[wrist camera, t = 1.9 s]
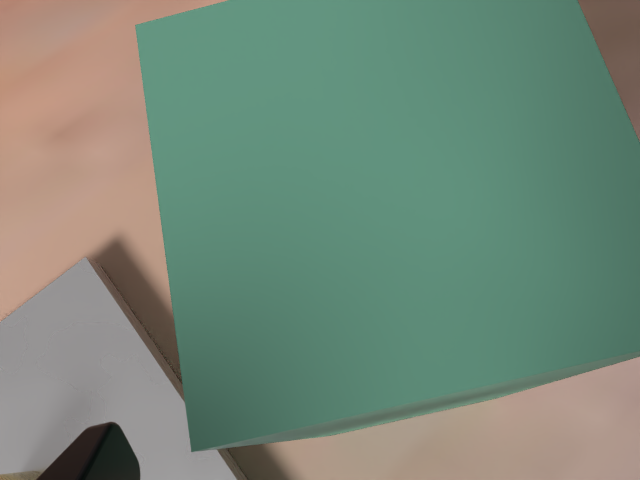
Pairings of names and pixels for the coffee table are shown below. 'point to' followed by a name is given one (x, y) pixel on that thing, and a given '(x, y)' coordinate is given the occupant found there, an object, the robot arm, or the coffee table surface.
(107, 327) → the chassis
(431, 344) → the green block
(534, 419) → the coffee table surface
